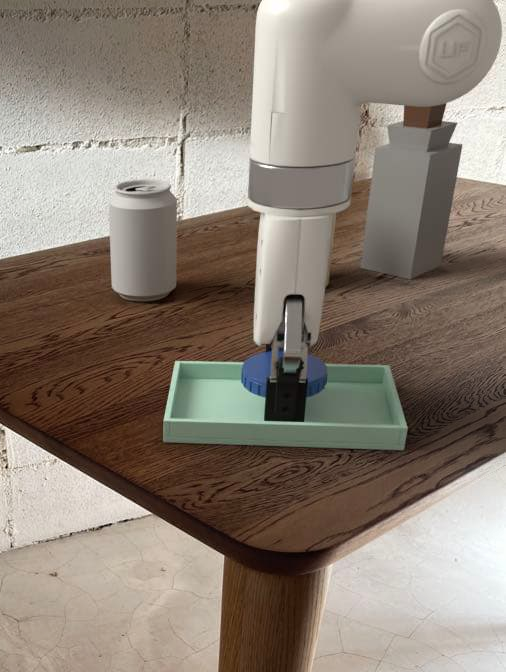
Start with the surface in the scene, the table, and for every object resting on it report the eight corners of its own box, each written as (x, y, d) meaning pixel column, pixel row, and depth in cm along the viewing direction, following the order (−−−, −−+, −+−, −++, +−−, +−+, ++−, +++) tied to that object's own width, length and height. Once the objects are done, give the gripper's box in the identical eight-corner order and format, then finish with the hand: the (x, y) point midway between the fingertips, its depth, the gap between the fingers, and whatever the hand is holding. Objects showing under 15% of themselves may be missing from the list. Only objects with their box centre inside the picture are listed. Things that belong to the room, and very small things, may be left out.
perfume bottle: (410, 279, 101) (437, 108, 91) (360, 267, 105) (381, 103, 95) (440, 265, 105) (470, 99, 94) (391, 254, 109) (414, 94, 99)
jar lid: (240, 399, 71) (241, 383, 70) (241, 364, 77) (242, 349, 76) (328, 401, 70) (330, 385, 69) (323, 365, 76) (325, 350, 75)
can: (149, 277, 106) (147, 172, 99) (189, 292, 100) (191, 183, 94) (99, 292, 102) (94, 184, 95) (138, 308, 97) (136, 196, 90)
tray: (386, 385, 78) (389, 364, 77) (404, 450, 69) (407, 427, 67) (175, 380, 81) (175, 360, 80) (163, 442, 71) (163, 420, 70)
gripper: (249, 159, 72) (240, 361, 82) (246, 215, 58) (235, 451, 68) (343, 157, 71) (321, 362, 81) (363, 214, 57) (334, 454, 67)
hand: (282, 401), depth 74 cm, fingers closed on jar lid, 6 cm apart
